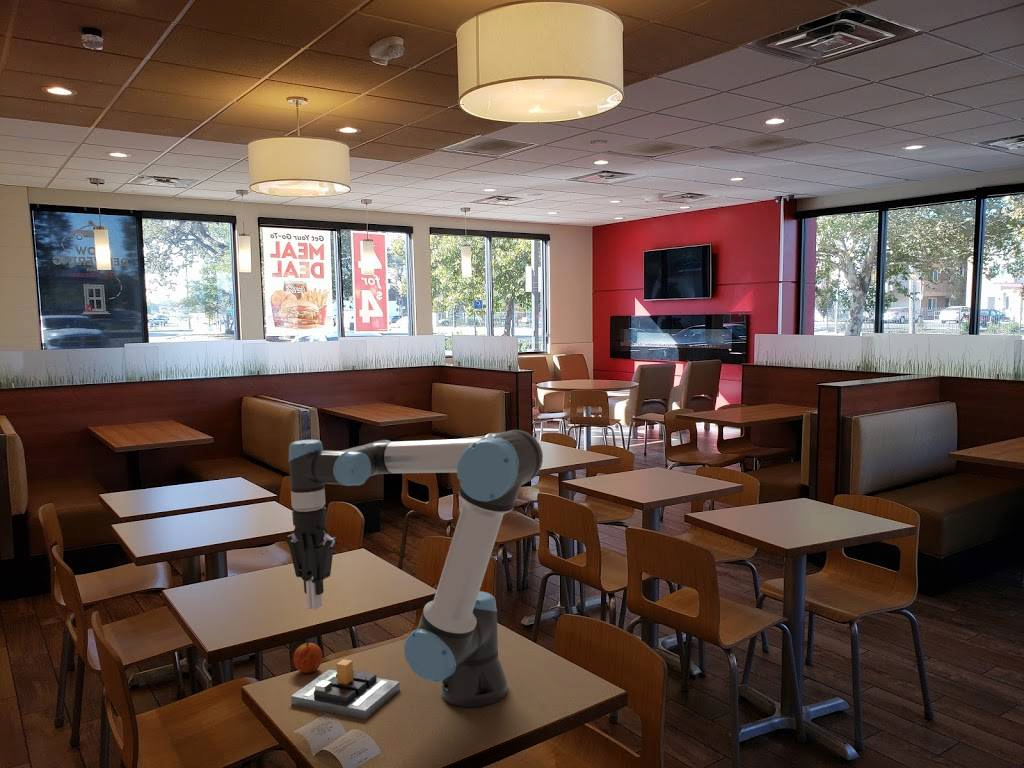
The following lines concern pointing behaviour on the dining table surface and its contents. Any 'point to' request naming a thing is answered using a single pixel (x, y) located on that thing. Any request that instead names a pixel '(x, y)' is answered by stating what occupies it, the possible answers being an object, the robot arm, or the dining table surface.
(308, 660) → the fruit
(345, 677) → the block
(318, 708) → the panel
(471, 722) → the dining table surface
